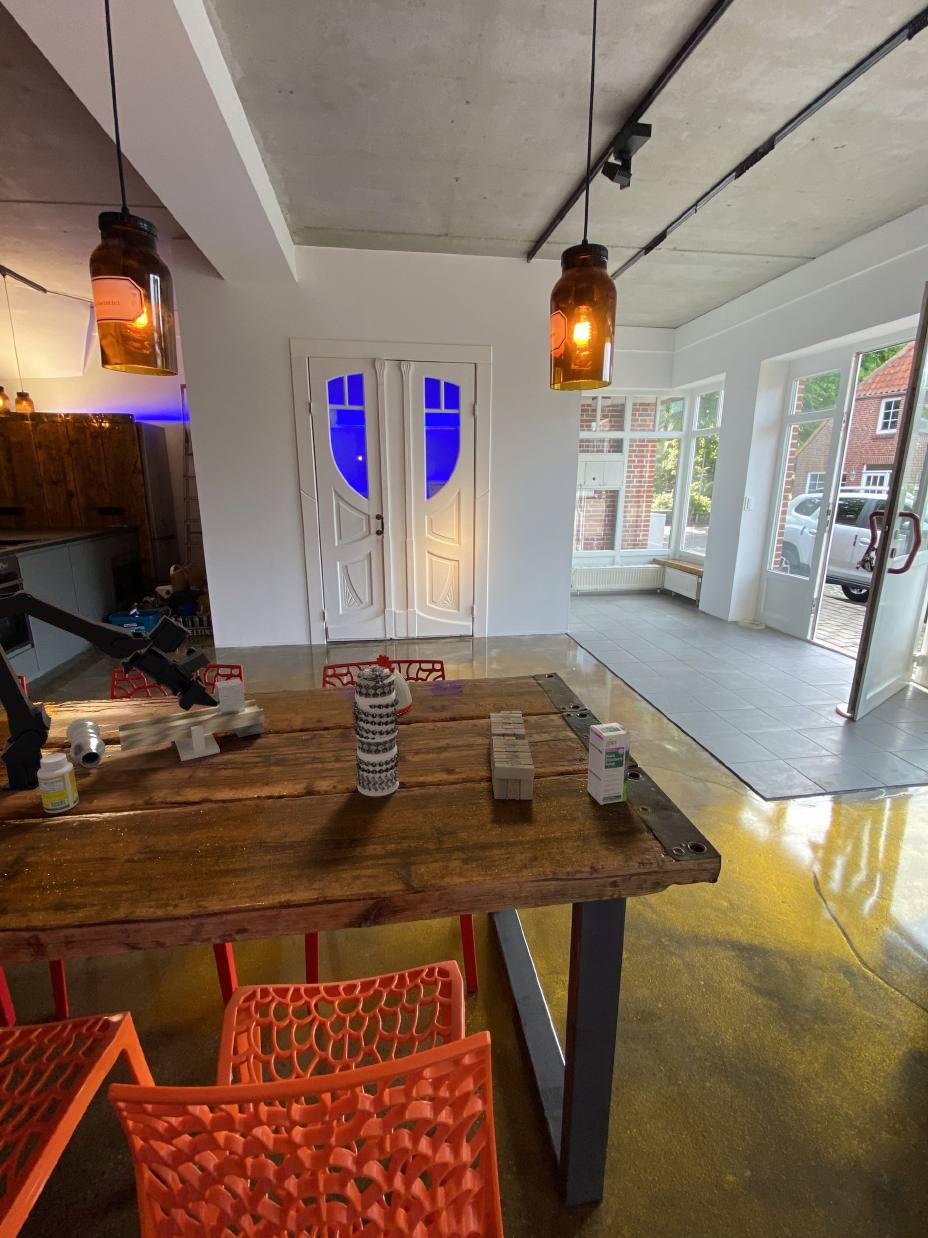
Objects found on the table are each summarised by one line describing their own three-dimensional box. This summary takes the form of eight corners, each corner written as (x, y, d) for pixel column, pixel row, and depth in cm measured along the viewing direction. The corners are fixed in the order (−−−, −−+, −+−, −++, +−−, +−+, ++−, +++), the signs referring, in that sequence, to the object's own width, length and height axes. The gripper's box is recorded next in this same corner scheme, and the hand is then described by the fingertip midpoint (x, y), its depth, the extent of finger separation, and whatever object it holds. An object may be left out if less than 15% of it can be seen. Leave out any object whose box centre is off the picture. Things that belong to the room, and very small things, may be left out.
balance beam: (123, 764, 123) (119, 737, 121) (121, 749, 130) (117, 724, 128) (265, 733, 139) (263, 710, 137) (256, 722, 145) (255, 699, 144)
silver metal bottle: (87, 746, 137) (97, 778, 122) (58, 734, 133) (64, 767, 118) (104, 722, 139) (116, 752, 123) (76, 711, 134) (85, 740, 119)
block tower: (489, 743, 139) (492, 804, 110) (489, 710, 137) (493, 764, 108) (521, 743, 138) (533, 805, 110) (522, 710, 137) (534, 764, 108)
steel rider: (221, 719, 134) (218, 687, 132) (217, 713, 138) (214, 682, 136) (245, 715, 137) (243, 683, 135) (241, 709, 141) (239, 678, 139)
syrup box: (600, 806, 109) (604, 736, 106) (586, 790, 115) (589, 723, 112) (626, 801, 111) (631, 732, 108) (611, 786, 116) (615, 720, 113)
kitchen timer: (394, 695, 168) (393, 646, 164) (421, 708, 157) (420, 657, 154) (352, 706, 159) (350, 655, 156) (378, 721, 149) (376, 666, 145)
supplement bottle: (67, 796, 112) (59, 748, 110) (85, 802, 110) (77, 754, 107) (37, 810, 107) (28, 760, 105) (55, 817, 105) (46, 767, 102)
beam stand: (181, 761, 126) (178, 733, 125) (173, 738, 138) (170, 713, 136) (219, 752, 131) (217, 725, 129) (209, 731, 142) (206, 706, 141)
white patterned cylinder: (407, 777, 120) (405, 664, 114) (390, 800, 111) (387, 679, 105) (367, 772, 122) (363, 660, 116) (347, 793, 113) (342, 674, 108)
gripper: (191, 649, 121) (248, 689, 129) (179, 631, 136) (232, 668, 145) (153, 691, 119) (215, 729, 127) (146, 668, 134) (201, 703, 142)
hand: (217, 704), depth 135 cm, fingers closed
